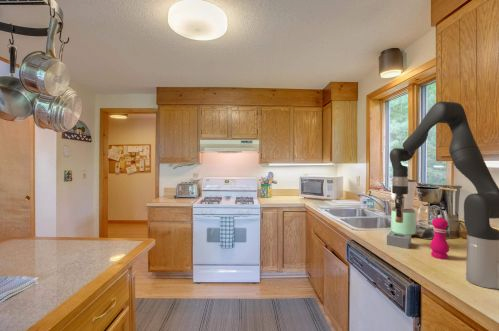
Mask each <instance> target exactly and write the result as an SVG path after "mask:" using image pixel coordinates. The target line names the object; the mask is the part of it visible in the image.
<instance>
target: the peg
mask: <svg viewBox="0 0 499 331" xmlns="http://www.w3.org/2000/svg"><path fill="white" fill-rule="evenodd" d="M398 207H399V206H398ZM396 222H398V223H403V206H402V210H401V217H397V216H396Z"/></svg>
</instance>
